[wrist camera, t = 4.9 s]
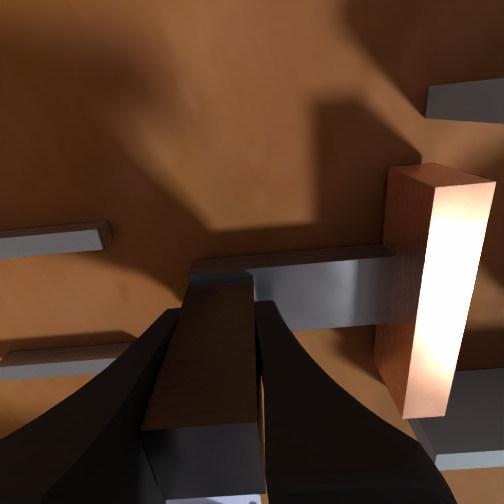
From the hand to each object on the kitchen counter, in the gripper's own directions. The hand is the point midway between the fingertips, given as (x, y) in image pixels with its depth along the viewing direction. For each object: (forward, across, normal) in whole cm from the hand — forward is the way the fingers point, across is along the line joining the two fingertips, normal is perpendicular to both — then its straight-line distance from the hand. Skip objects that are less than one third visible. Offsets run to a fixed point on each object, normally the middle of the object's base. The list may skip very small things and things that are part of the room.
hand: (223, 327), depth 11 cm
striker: (+3, -3, 0) cm, 4 cm away
